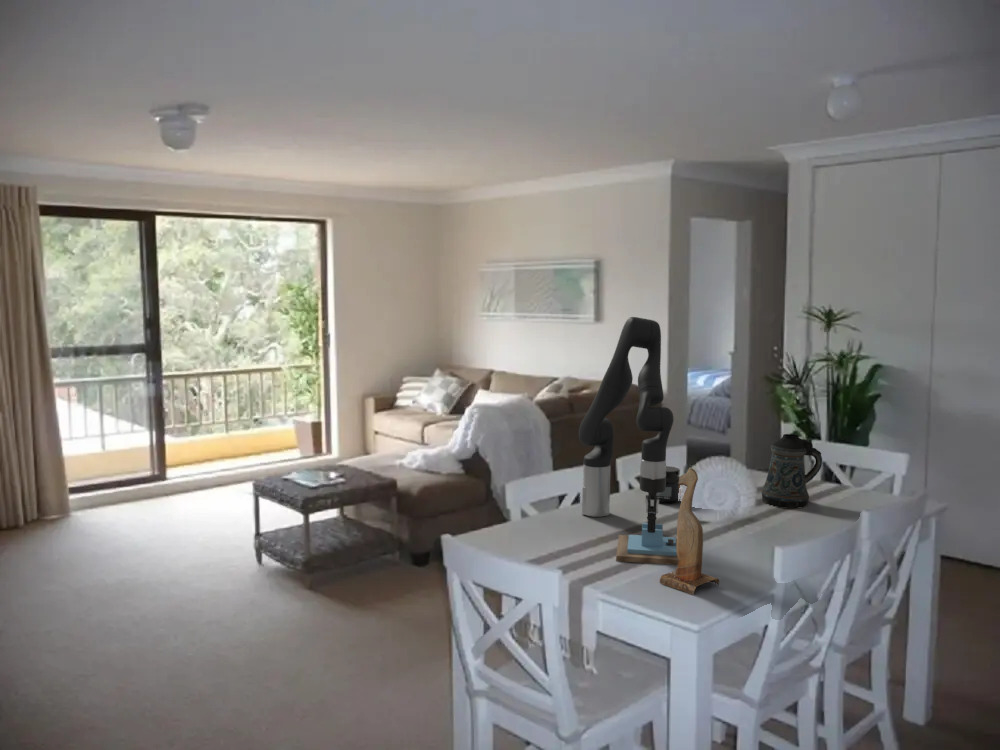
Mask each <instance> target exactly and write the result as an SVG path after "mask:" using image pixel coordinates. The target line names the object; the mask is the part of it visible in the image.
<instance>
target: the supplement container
mask: <svg viewBox="0 0 1000 750" xmlns="http://www.w3.org/2000/svg"><path fill="white" fill-rule="evenodd" d="M680 476H681V469H680V468H679V467H675V466H668V465H666V490H665V491H664V492H661V493H657V494H656V495H657V496H659V504H663V505H673V504H678V503H679V502H680V501H678V493H679V488H680V485H679V484H678V483H679V478H680Z"/></svg>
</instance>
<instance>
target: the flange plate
mask: <svg viewBox="0 0 1000 750" xmlns="http://www.w3.org/2000/svg"><path fill="white" fill-rule="evenodd" d="M663 526H664V524H662V523H655V527H656V529H655V533H648V531H647V529H648V522H647V523H646V522H642V526H641V534H628V536H629V539H628V548H627V553H635V554H650V555H666V556H677V549H676V538H677V536H675V537H672V536H664V529H663V528H664V527H663ZM668 539H672V540H674V544H673V546H668Z"/></svg>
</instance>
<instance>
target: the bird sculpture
mask: <svg viewBox="0 0 1000 750" xmlns="http://www.w3.org/2000/svg"><path fill="white" fill-rule="evenodd" d="M679 476H680V478H679V483H678V484H679V485H681V486H685V487H686V489H685V491H684V493H683V496H682V500H681V502H680V506H679V510H678V515H677V524H676V525H677V529H676V531H677V532H676V538H677V556H678V560H679V564H678V565H676V568H675V570H673V571H671V572H668V573H665V574H661V575H660V578H659V584H660V585H663V586H666V587H670V588H672V589H675V590H678V591H681V592H684V593H686V594H689V595H694V594H695V590H696V588H697V587H698V586H701V585H703V584H706V583H710V584H711V583H712V584H713V583H714V584H715V585H718V586H719V585H720V579H719V578H717V577H715V576H711V575H708V574H704V573H702V571H703V570H702V569H703V568H702V567H703V553H704V552H703V551H704V550H703V549H704V530H703V526H702V523H700V520H699V518H698V517H697V516H696V515H695V513H694V512H693V511H692V509H693V499H694V493H695V490H696V487H697V483H698V481H699V477H698V473H697V471H696V470H695V469H694V468H693V467H689V468H688V470H687V472H686V473H683V474H682V475H681V474H680V475H679Z"/></svg>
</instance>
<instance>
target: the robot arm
mask: <svg viewBox="0 0 1000 750" xmlns="http://www.w3.org/2000/svg"><path fill="white" fill-rule="evenodd" d="M661 346H662V332H661V327H660V324H659V322H658V321H656V320H653V319H650V318H649V319H647V318H642V317H635V316H631V317H629V318H627V319H626V321H625V322H624V325H623V327H622V329H621V332H620V335H619V339H618V340H617V345H616V347H615V351H614V353H613V355H612V358H611V361H610V362H609V366H608V368H607V370H606V372H605V374H604V376H603V378H602V380H601V382H600V385H599V387H598V391H597V392H596V394H595V396H594V399H593V400H592V403H591V405H590V407H589V408H588V410H587V412H586V413H585V415H584V417H583V419H582V420H581V423H580V425H579V429H578V439H579V441H580V443H581V444H582V445H583V446H587V447H594V448H593V449H592V450H591V451H590V452H588V453H586V454H585V455H584V457H583V465H582V466H583V467H582V468H583V471H582V472H583V474H582V475H583V478H582V480H583V482H582V484H583V485H582V493H581V495H582V496H581V497H582V498H581V501H582V502H581V505H582V506H581V515H582V516H583V515H584V516H588V517H593V518H594V517H595V518H597V517H598V518H600V517H607V516H609V515H610V511H611V509H610V508H611V507H610V506H611V505H610V503H611V463H612V462H611V461H612V458H613V454H614V453H613V451H614V439H615V431H614V430H615V429H614V425H613V423H612V421H611V420H610V419H609V418H606V417H607V416H608V415H609V414H610V413H611V412H612V411H614V410H615V409H616V408H617V407H618V406H620V405H621V403H622V402H623V401H624V400H625V399H626V397H627V395H628V393H629V391H630V389H631V388H632V384H633V373H632V369H631V365H630V362H629V361H630V360H629V354H630V351H631V348H633V347H634V348H639V349H643V350H644V349H646V350H647V359H646V361H645V363H644V364H643V366H642V368H641V369H640V370H639V373H638V376H637V387H638V388H637V389H638V395H639V403H638V405H639V406H638V410H637V414H636V419H635V420H636V421H635V422H636V426H637V428H638V429H639V430H640V431H642V432H658V434H657V435H656V436H654V437H651V438H646V439H644V440H643V441H642V443H641V458H640V459H641V460H640V466H639V467H640V468H639V469H640V470H639V490H641V491H642V492H645V493H648V494H645V513H647V517H646V520H647V523H648V529H647V531H648V533H655V524H656V521H657V518H658V517H657V514H658V512H659V504H660V503H659V496H657V495H656V494H657V493H661V492H664V491H665V490H666V466H667V463H666V462H667V461H666V460H667V458H666V457H667V444H668V440H669V436H670V433H671V430H672V428H673V425H674V419H675V418H674V413H673V411H672V410H671V409H670V408H669V407H665V406H662V407H660V406H659V407H656V406H658V405H660V404H661V403H662V402H663V401H664V398H665V397H664V391H663V383H662V377H661V376H662V375H661V358H662V357H661V356H662V355H661V354H662V347H661Z"/></svg>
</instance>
